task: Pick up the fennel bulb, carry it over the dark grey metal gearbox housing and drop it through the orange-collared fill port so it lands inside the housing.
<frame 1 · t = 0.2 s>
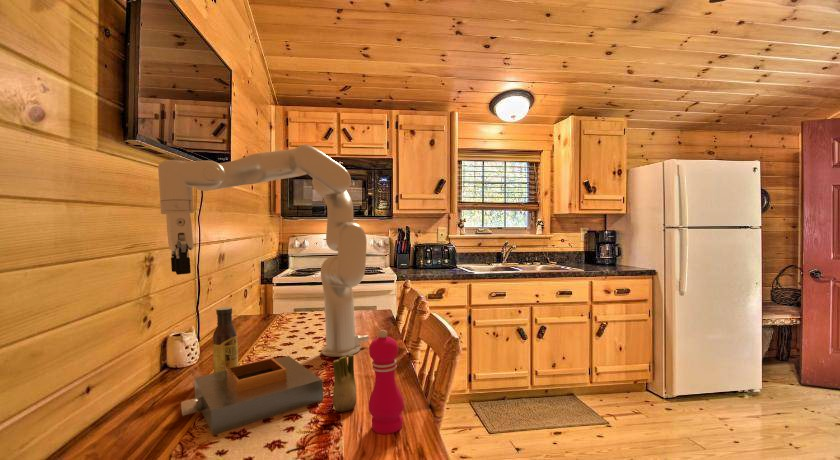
hand: (180, 272, 108), 31 cm above the table, tool pointing down, fingers open, 9 cm apart
gearbox: (257, 398, 100), on the table
fennel bulb: (345, 410, 92), on the table
sauce bottle: (227, 379, 115), on the table
pepper mill: (387, 427, 84), on the table
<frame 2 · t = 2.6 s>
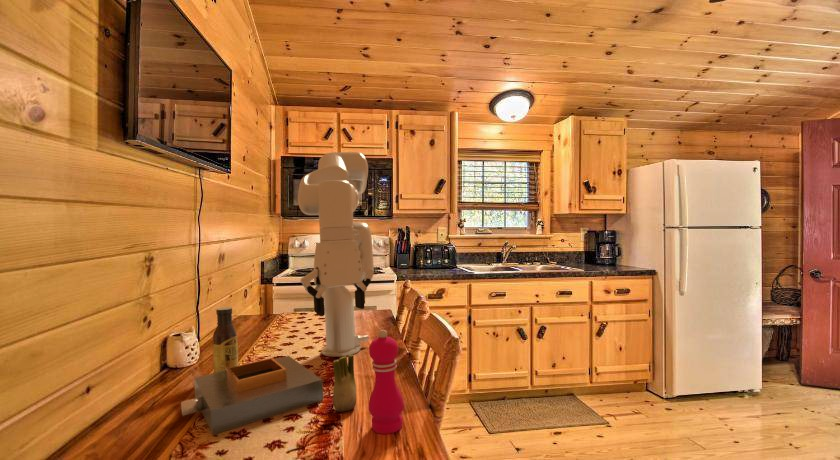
hand: (340, 311, 92), 22 cm above the table, tool pointing down, fingers open, 9 cm apart
nothing on the table moved.
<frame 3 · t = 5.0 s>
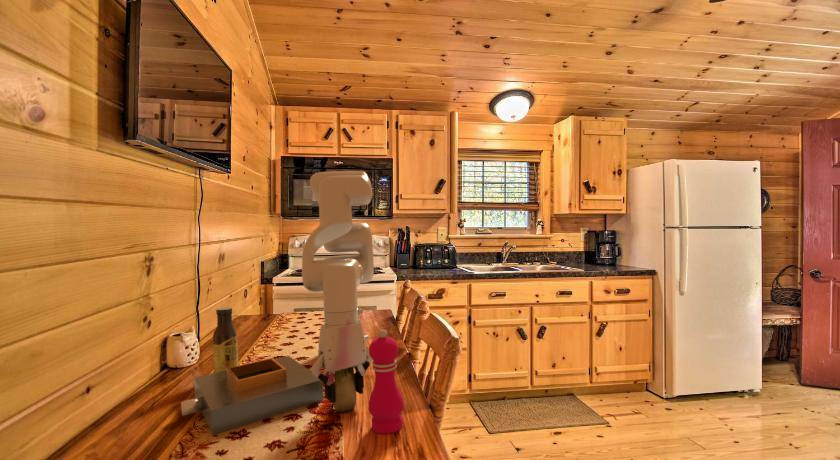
hand: (345, 395, 92), 3 cm above the table, tool pointing down, fingers closed on fennel bulb, 6 cm apart
fennel bulb: (345, 410, 92), on the table, touching gripper
everything else where it was.
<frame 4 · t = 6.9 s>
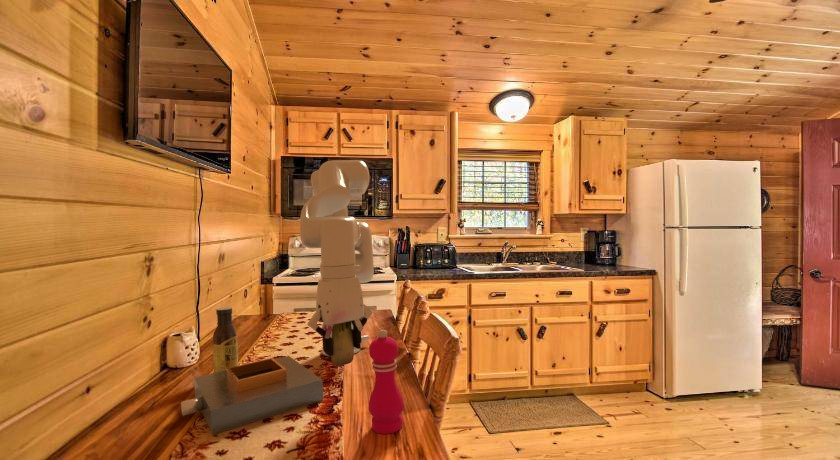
hand: (342, 350, 93), 13 cm above the table, tool pointing down, fingers closed on fennel bulb, 6 cm apart
fennel bulb: (343, 364, 93), point 10 cm above the table, touching gripper
everything else where it was.
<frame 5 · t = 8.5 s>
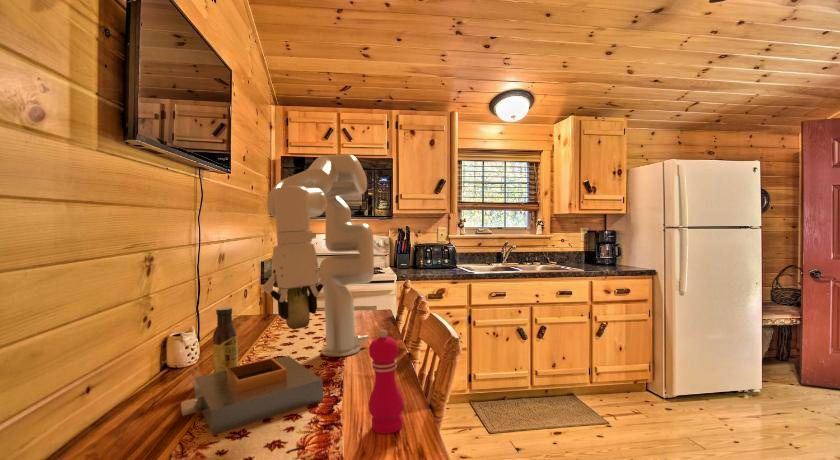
hand: (298, 314, 96), 21 cm above the table, tool pointing down, fingers closed on fennel bulb, 6 cm apart
fennel bulb: (299, 329, 96), point 18 cm above the table, touching gripper
everything else where it was.
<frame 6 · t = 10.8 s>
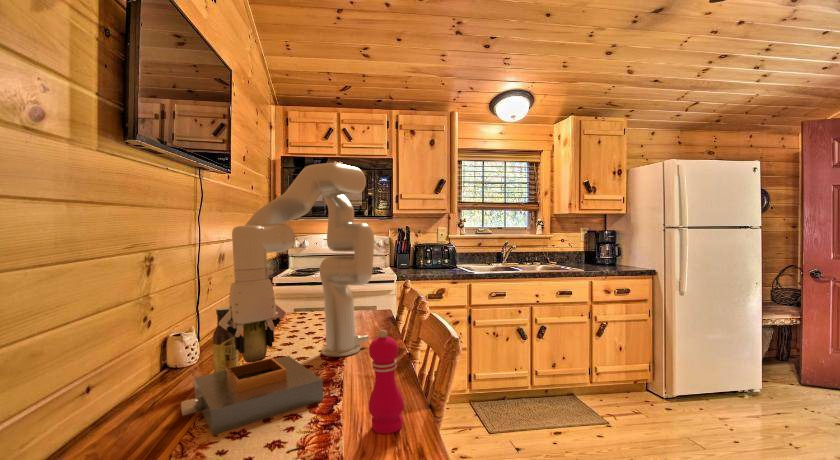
hand: (255, 348, 100), 12 cm above the table, tool pointing down, fingers closed on fennel bulb, 6 cm apart
fennel bulb: (255, 361, 100), point 9 cm above the table, touching gripper
everything else where it was.
when the fingers open (12 cm above the table, at t = 11.6 s): fennel bulb drops 9 cm, resting in gearbox.
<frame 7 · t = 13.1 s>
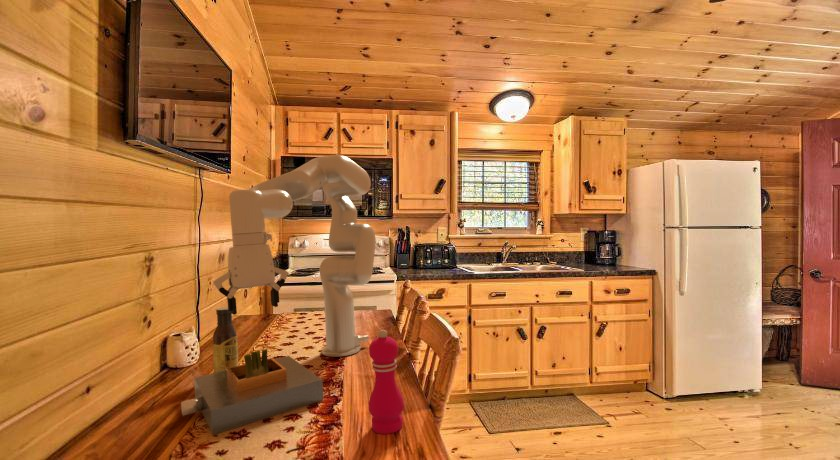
hand: (254, 309, 100), 22 cm above the table, tool pointing down, fingers open, 9 cm apart
fennel bulb: (258, 400, 100), resting in gearbox
everything else where it was.
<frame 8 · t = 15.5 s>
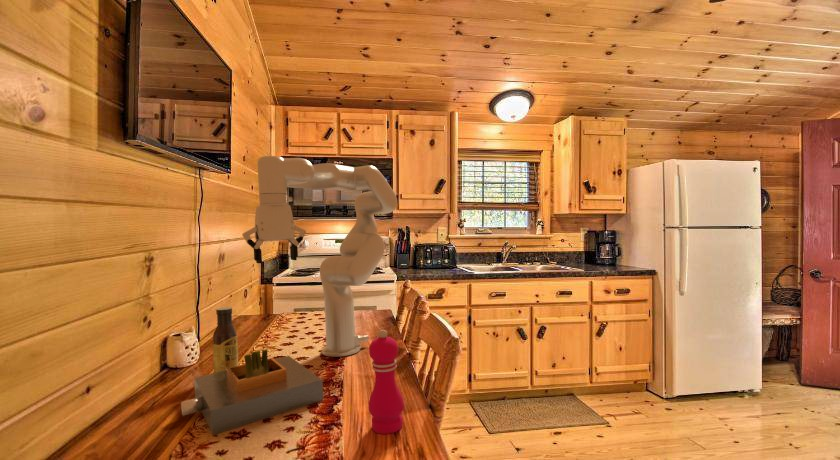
hand: (276, 261, 115), 32 cm above the table, tool pointing down, fingers open, 9 cm apart
nothing on the table moved.
at the end: fennel bulb 0.5 cm from the gearbox (horizontally); fennel bulb resting in gearbox; the gripper is holding nothing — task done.
